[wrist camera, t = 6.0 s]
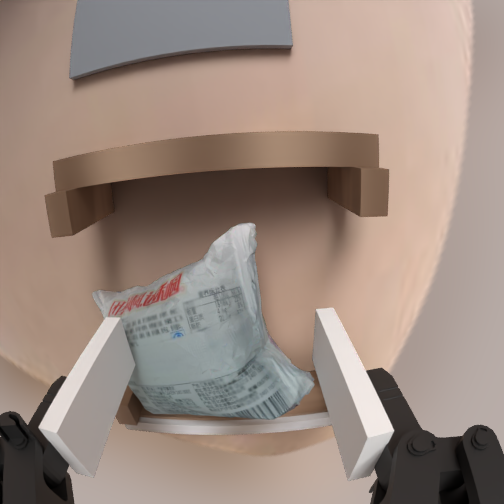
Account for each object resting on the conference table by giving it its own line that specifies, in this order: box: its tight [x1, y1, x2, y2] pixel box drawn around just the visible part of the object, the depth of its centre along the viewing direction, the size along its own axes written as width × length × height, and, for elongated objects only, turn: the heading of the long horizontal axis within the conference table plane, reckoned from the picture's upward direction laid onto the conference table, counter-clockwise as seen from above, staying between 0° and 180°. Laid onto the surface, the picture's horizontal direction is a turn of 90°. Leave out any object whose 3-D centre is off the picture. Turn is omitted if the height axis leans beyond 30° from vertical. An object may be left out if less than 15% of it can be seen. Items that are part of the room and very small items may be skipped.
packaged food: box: [92, 223, 315, 420], centre depth 15 cm, size 9×12×5 cm
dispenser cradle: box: [45, 131, 389, 435], centre depth 16 cm, size 15×18×5 cm
